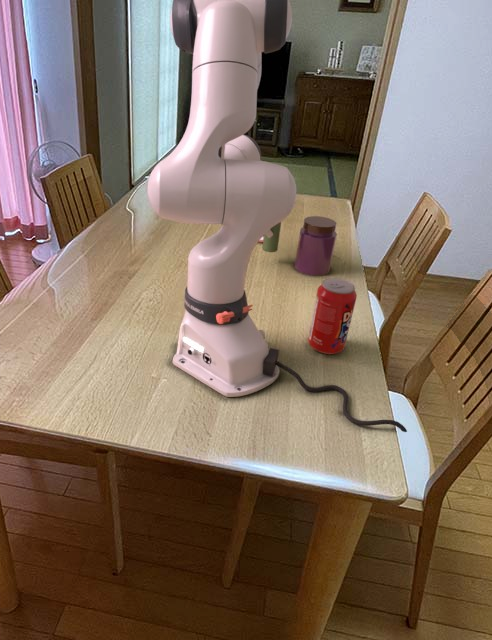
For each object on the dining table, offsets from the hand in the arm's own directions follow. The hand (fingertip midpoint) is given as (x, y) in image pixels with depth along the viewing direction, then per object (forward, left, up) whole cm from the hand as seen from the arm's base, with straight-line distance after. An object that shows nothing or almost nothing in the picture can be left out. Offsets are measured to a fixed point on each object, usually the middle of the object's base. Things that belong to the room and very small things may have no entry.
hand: (274, 232), depth 138 cm
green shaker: (0, 0, -5) cm, 5 cm away
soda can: (-39, +20, -9) cm, 45 cm away
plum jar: (-9, -8, -9) cm, 15 cm away
